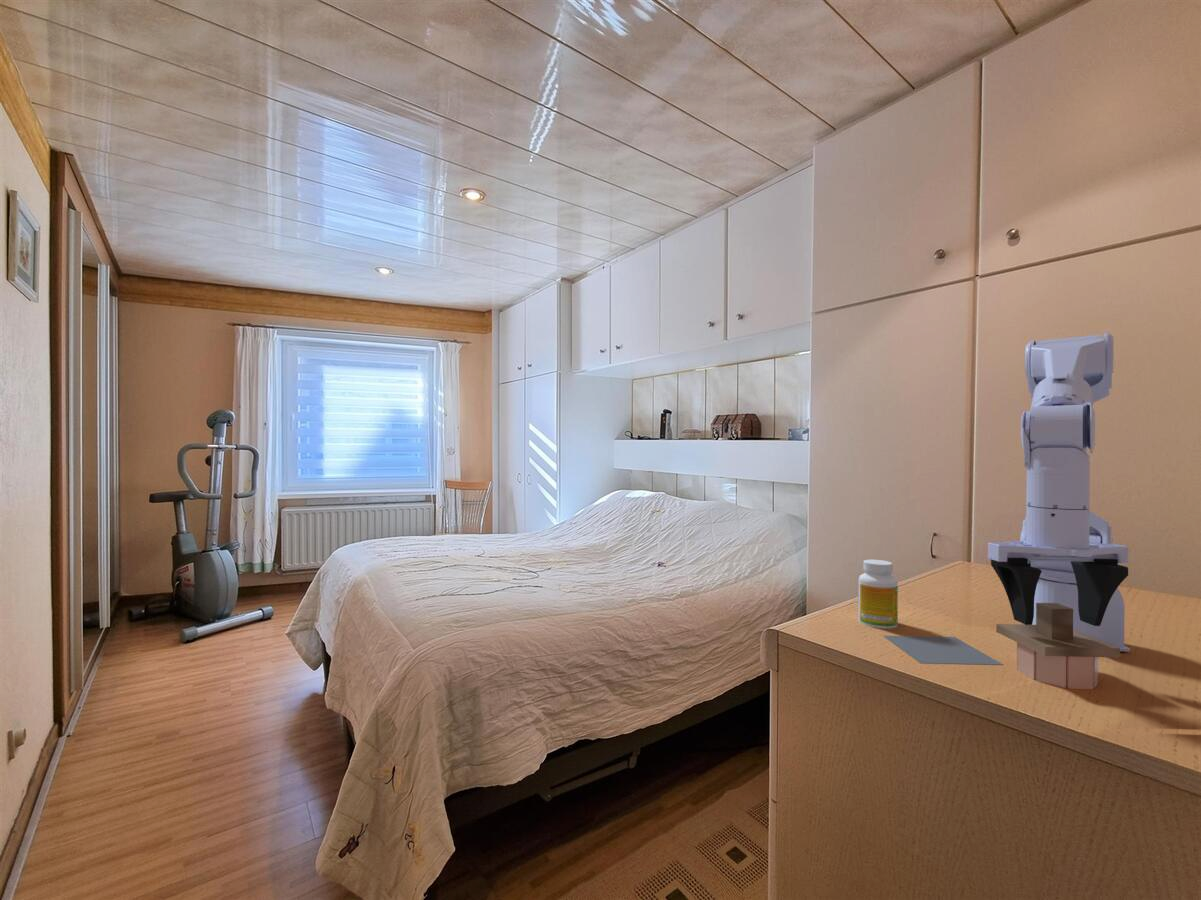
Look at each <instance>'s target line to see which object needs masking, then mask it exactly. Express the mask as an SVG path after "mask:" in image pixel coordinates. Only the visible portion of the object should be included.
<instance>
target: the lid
mask: <svg viewBox="0 0 1201 900" xmlns="http://www.w3.org/2000/svg"><path fill="white" fill-rule="evenodd" d="M995 625H996V626H995V627H996V629H995V630H996V632H995V633H998V634H999V635H1002V636H1004V637H1005V638H1008V639H1010V640H1012V641H1014V642H1016V643H1017V642H1018V643H1020V644H1022V645H1024V646H1026V647H1028V648H1030V649H1032V650H1034V651H1036V652H1038V653H1040V654H1042V655H1044V656H1071V657H1098V658H1121V651H1120V648H1118V647H1115V646H1113V645H1110V644H1108V643H1105V642H1103V641H1100V640H1098V639H1095V638H1093V637H1091V636H1088V635H1086V634H1083V633H1081V632H1078V631H1076V630H1073V609H1072V608H1069V607H1066V606H1063V605H1061V604H1058V603H1036V625H1025V624H1023V623H1021V624H1020V623H1019V624H1018V623H1017V624H1015V623H1013V624H1012V623H996V624H995Z"/></svg>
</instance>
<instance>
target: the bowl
mask: <svg viewBox="0 0 1201 900" xmlns="http://www.w3.org/2000/svg"><path fill="white" fill-rule="evenodd" d="M1098 660H1099V657H1071V656H1044V655H1042V654H1040V653H1038V652H1036V651H1034V650H1032V649H1030V648H1028V647H1026V646H1024V645H1022V644H1020V643H1018V642H1016V671H1017V672H1019V673H1021V674H1023V675H1025V676H1026V677H1028V678H1030V679H1031V680H1032V681H1033V680H1034V681H1036V682H1039V683H1043V684H1048V685H1052V686H1055V687H1059V688H1064V689H1066V688H1067V689H1068V690H1071V689H1073V690H1095V689H1096V687H1097V684H1098V683H1099V682H1098V681H1099V680H1098V676H1099V674H1098V673H1099V671H1098V670H1099V668H1098V666H1099V663H1098V662H1099V661H1098Z"/></svg>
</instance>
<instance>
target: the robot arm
mask: <svg viewBox="0 0 1201 900" xmlns="http://www.w3.org/2000/svg"><path fill="white" fill-rule="evenodd" d="M1024 351H1025V352H1024V366H1025V367H1024V370H1025V371H1024V372H1025V378H1026V381H1027V389H1028V390H1027V391H1028V393H1029V394H1030V399H1031V404H1030V410H1028V411H1026V410H1024V411H1023V412H1022V415H1021V421H1020V438H1021V439H1020V440H1021V446H1022V449H1023V465H1024V468H1026V481H1025V482H1026V483H1025V484H1026V489H1025V490H1026V496H1025V497H1026V500H1025V501H1026V502H1025V504H1026V507H1025V508H1026V509H1025V514H1026V515H1025V518H1024V520H1023V521H1022V530H1021V531H1020V539H1019V540H1018V541H1005V542H1004V541H1003V542H987V559H989V560H990V566H991V567H992V569H993V570H994V571H995V573H996V575H997V577H998V578H999V580H1000V582H1001V584H1002V587H1003V588H1004V591H1005V593H1006V596H1007V598H1008V603H1009V606H1010V608H1011V612H1012V617H1013V620H1014V621H1017V622H1019V623H1021V624H1025V625H1036V603H1058V604H1061V605H1063V606H1066V607H1069V608H1072V609H1073V630H1076V631H1078V632H1081V633H1083V634H1086V635H1088V636H1091V637H1093V638H1095V639H1098V640H1100V641H1103V642H1105V643H1108V644H1110V645H1113V646H1115V647H1118V648H1120V652H1130V651H1131V648H1130V647H1128V646H1126V645H1125V608H1126V607H1125V606H1126V605H1125V601H1124V597H1123V595H1122V593H1121V590H1119V587H1120V585H1121V583H1122V582H1123V581H1125V579H1126V578H1127V577H1128V576H1129V567H1128V566H1126V565H1121V564H1129V546H1128V545H1127V546H1126V545H1120V544H1115V543H1113V538H1112V526H1110V524H1109V522H1108V521H1107V520H1106V519H1104V518H1103V517H1101V516H1099V515H1097V514H1096V513H1094V512H1092V511H1091V510H1090V486H1091V484H1090V482H1091V481H1090V478H1091V477H1090V474H1091V469H1090V467H1091V465H1090V463H1091V461H1090V460H1091V459H1090V457H1091V456H1090V455H1089V454H1088V453H1087V451H1088V449H1089V453H1090V454H1093V451H1094V449H1095V445H1096V414H1095V413H1096V412H1095V409H1094V407H1093V405H1094V403H1096V402H1098V401H1101V400H1102V399H1105V398H1107V397H1108V396H1110V390H1111V389H1112V388H1113V374H1114V336H1113V335H1112V334H1110V333H1109V332H1103V334H1094V335H1085V336H1074V337H1064V338H1053V339H1046V340H1045V339H1044V340H1037V341H1036V340H1030V341H1029V342H1028V343H1027V344H1026V345H1025V350H1024Z"/></svg>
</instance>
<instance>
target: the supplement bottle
mask: <svg viewBox="0 0 1201 900" xmlns="http://www.w3.org/2000/svg"><path fill="white" fill-rule="evenodd" d="M893 569H894V568H893V563H892V562H891V561H888V560H881V559H864V560H863V571H864V573H862V574H860V575H859V577H858V583H857V584H858V598H857V599H858V600H857V601H858V603H857V605H858V606H857V608H858V609H857V612H858V613H857V616H858V622H859V623H860V624H861V625H864V626H866V627H870V628H871V627H872V628H877V629H895V628H897V627H898V623H899V622H898V619H899V617H898V613H899V611H898V609H899V608H898V606H899V605H898V603H899V599H898V597H899V596H898V594H899V593H898V592H899V589H898V588H899V583H898V580H897V578H896V577H894V576H893V575H892V574H893V571H894V570H893Z"/></svg>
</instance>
